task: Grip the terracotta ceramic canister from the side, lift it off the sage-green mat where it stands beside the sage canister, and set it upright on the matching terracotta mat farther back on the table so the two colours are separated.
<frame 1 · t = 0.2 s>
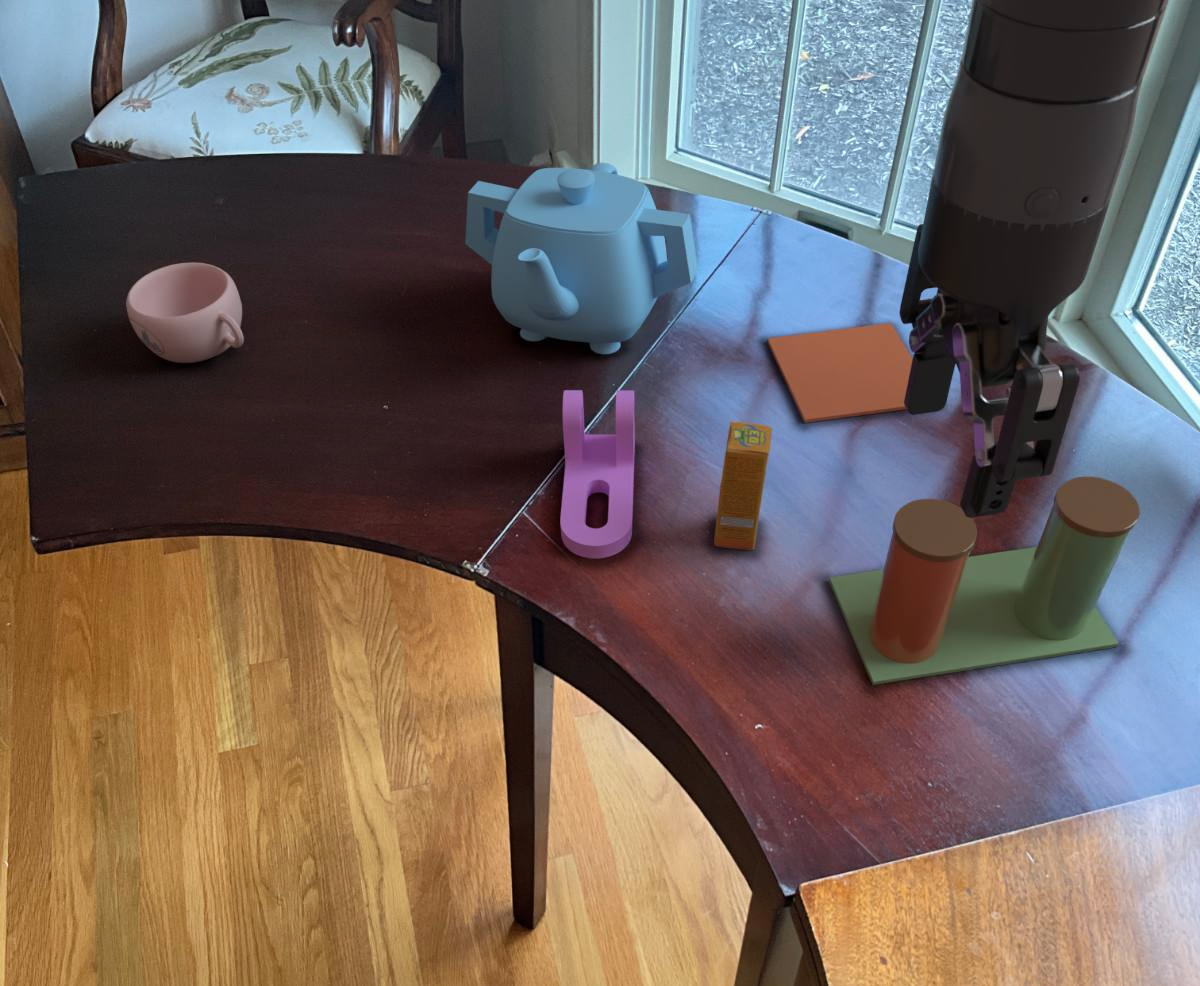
hand: (950, 457, 60), 22 cm above the table, tool pointing down, fingers open, 8 cm apart
mug: (206, 348, 105), on the table
supplement box: (737, 536, 87), on the table
terracotta mat: (849, 372, 100), on the table
teapot: (576, 328, 106), on the table
bracket: (598, 501, 90), on the table
terracotta canister: (904, 635, 79), resting on sage mat
sage mat: (968, 612, 81), on the table
sage canister: (1050, 613, 80), resting on sage mat
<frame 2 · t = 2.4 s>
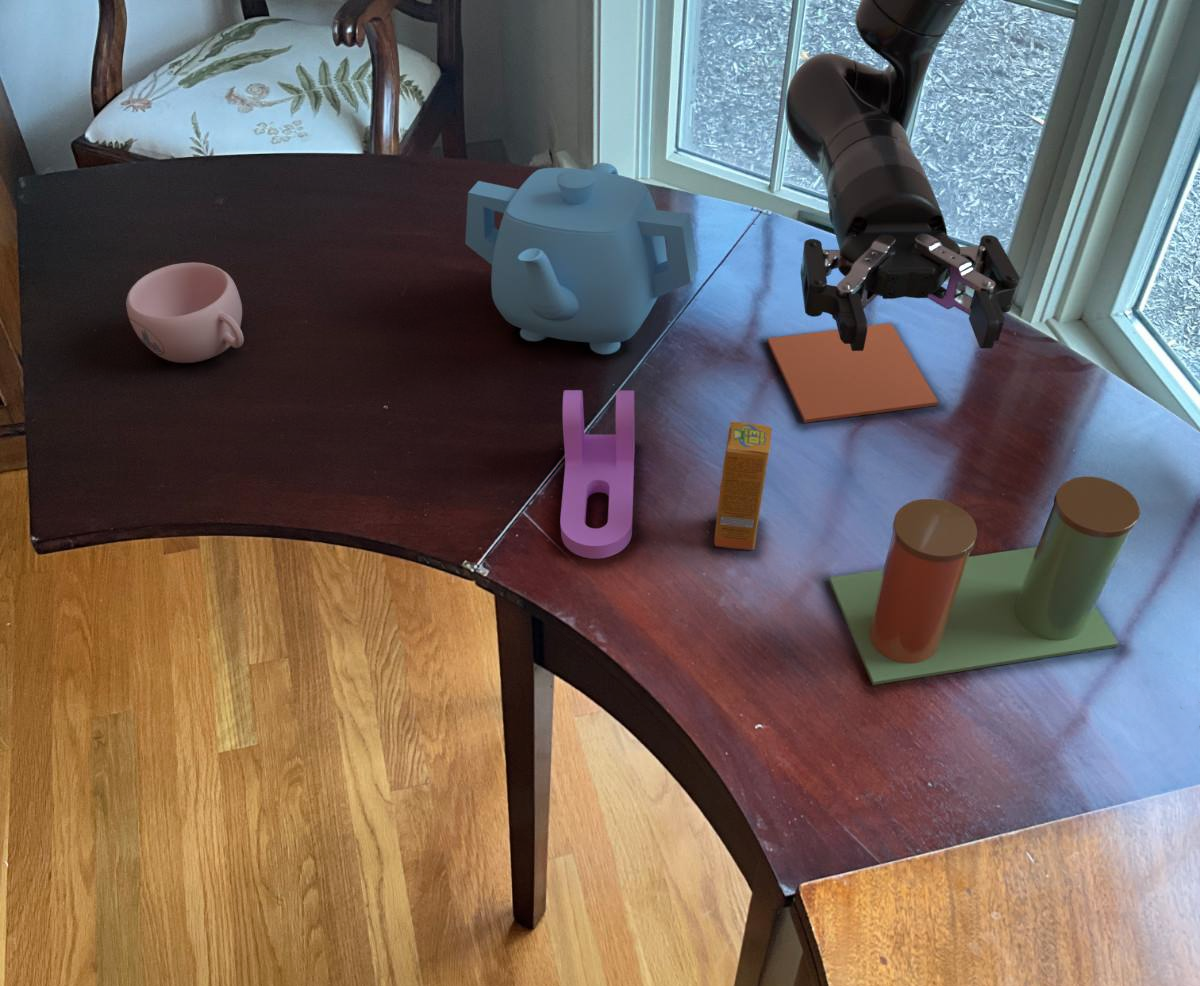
hand: (925, 339, 73), 18 cm above the table, tool horizontal, fingers open, 8 cm apart
nothing on the table moved.
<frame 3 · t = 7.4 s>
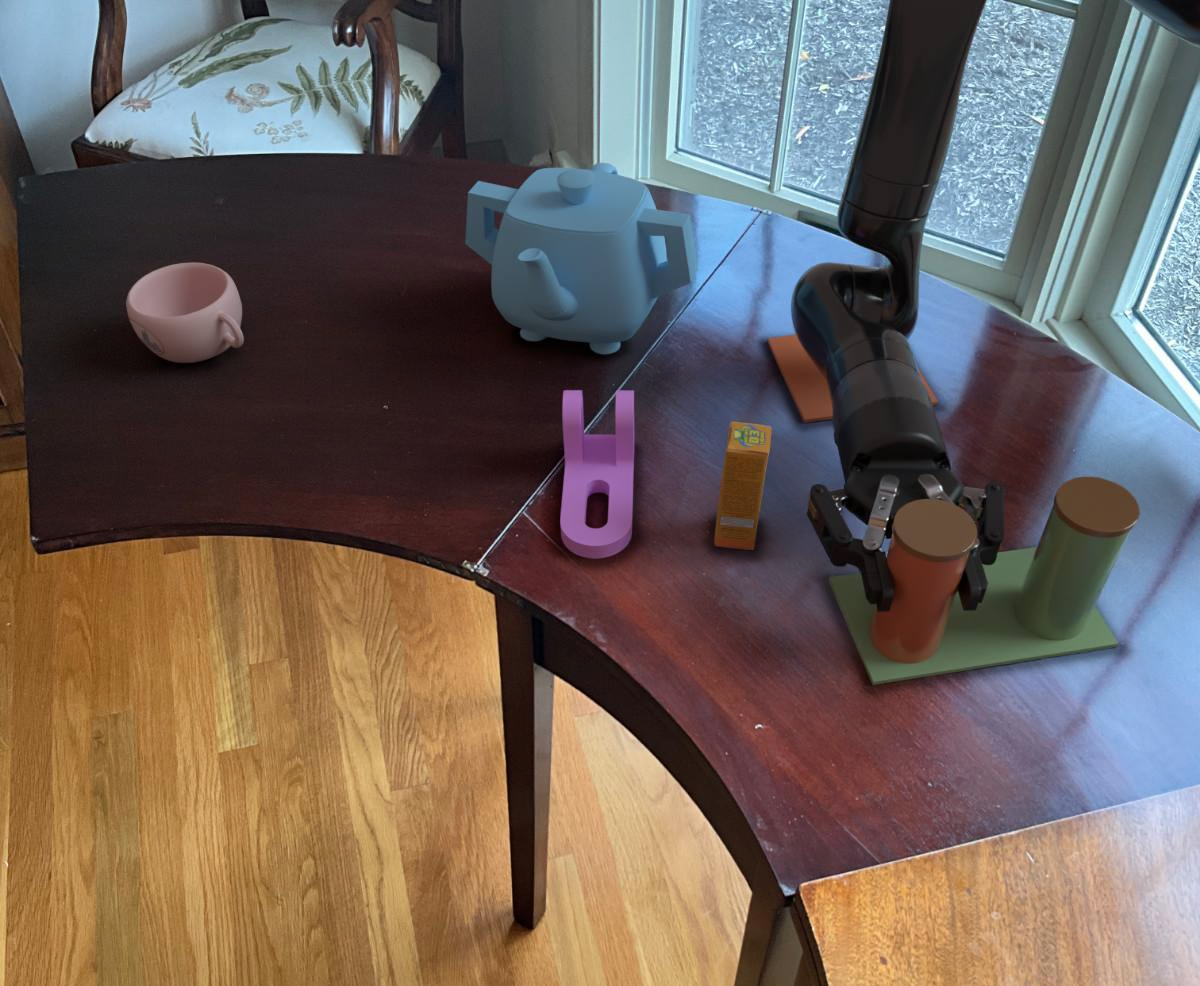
hand: (929, 602, 72), 7 cm above the table, tool horizontal, fingers closed on terracotta canister, 5 cm apart
terracotta canister: (904, 636, 79), resting on sage mat, touching gripper
everything else where it was.
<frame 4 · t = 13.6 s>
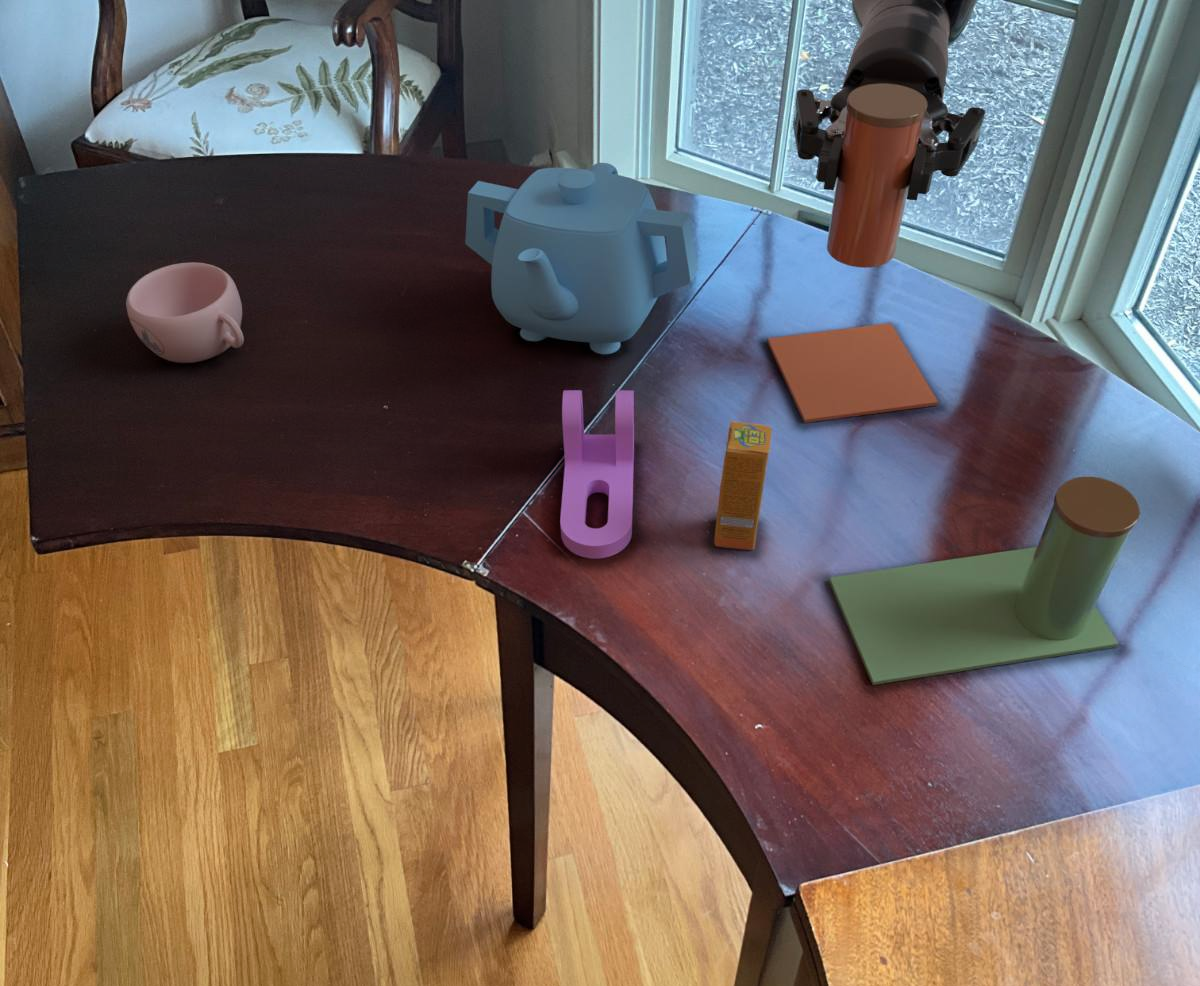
hand: (872, 181, 75), 24 cm above the table, tool horizontal, fingers closed on terracotta canister, 5 cm apart
terracotta canister: (860, 249, 82), point 17 cm above the table, touching gripper
everything else where it was.
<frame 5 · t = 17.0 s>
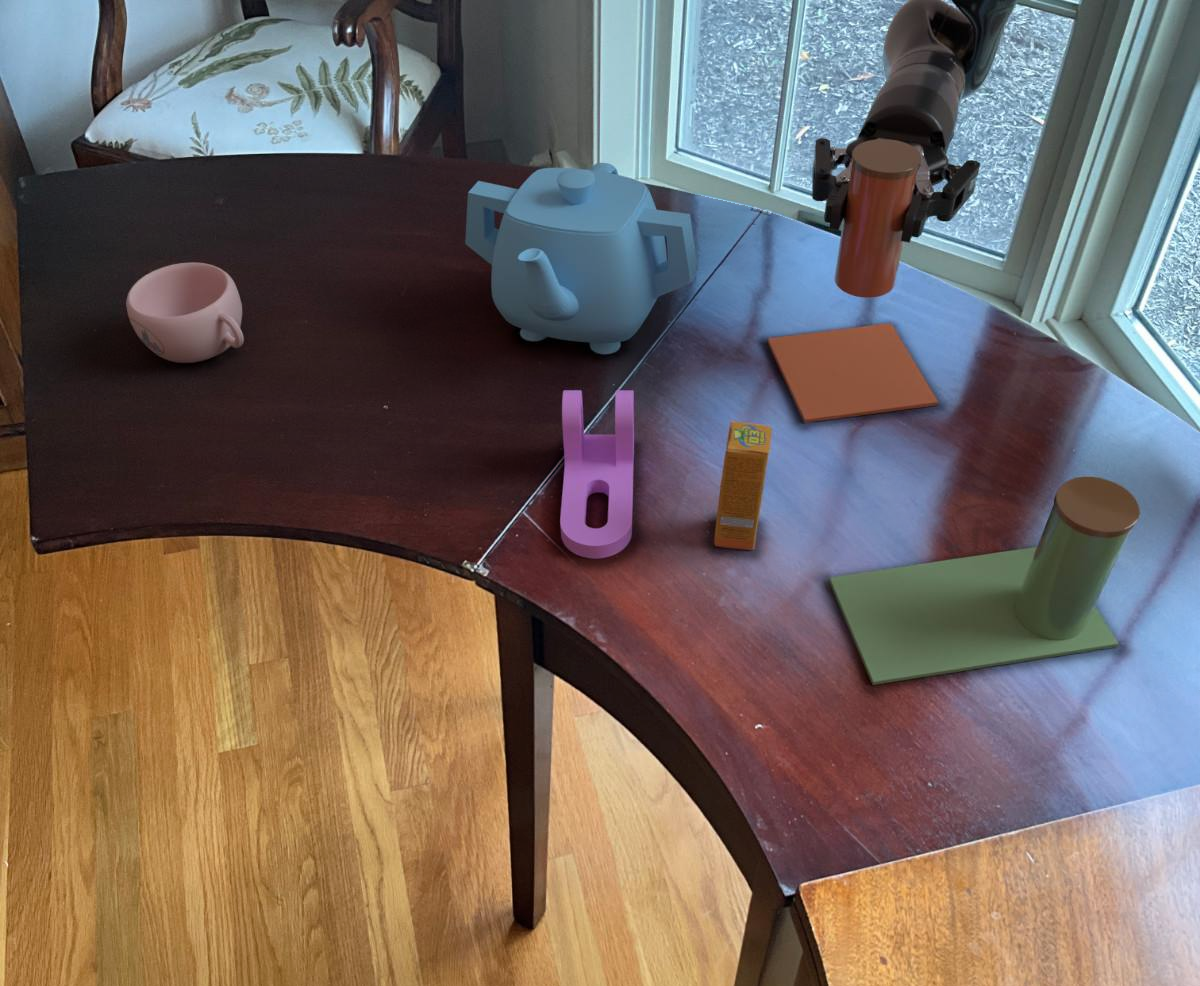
hand: (871, 225, 86), 16 cm above the table, tool horizontal, fingers closed on terracotta canister, 5 cm apart
terracotta canister: (864, 280, 93), point 9 cm above the table, touching gripper
everything else where it was.
when the fingers open (7 cm above the table, at t = 19.9 s): terracotta canister stays where it is, resting on terracotta mat.
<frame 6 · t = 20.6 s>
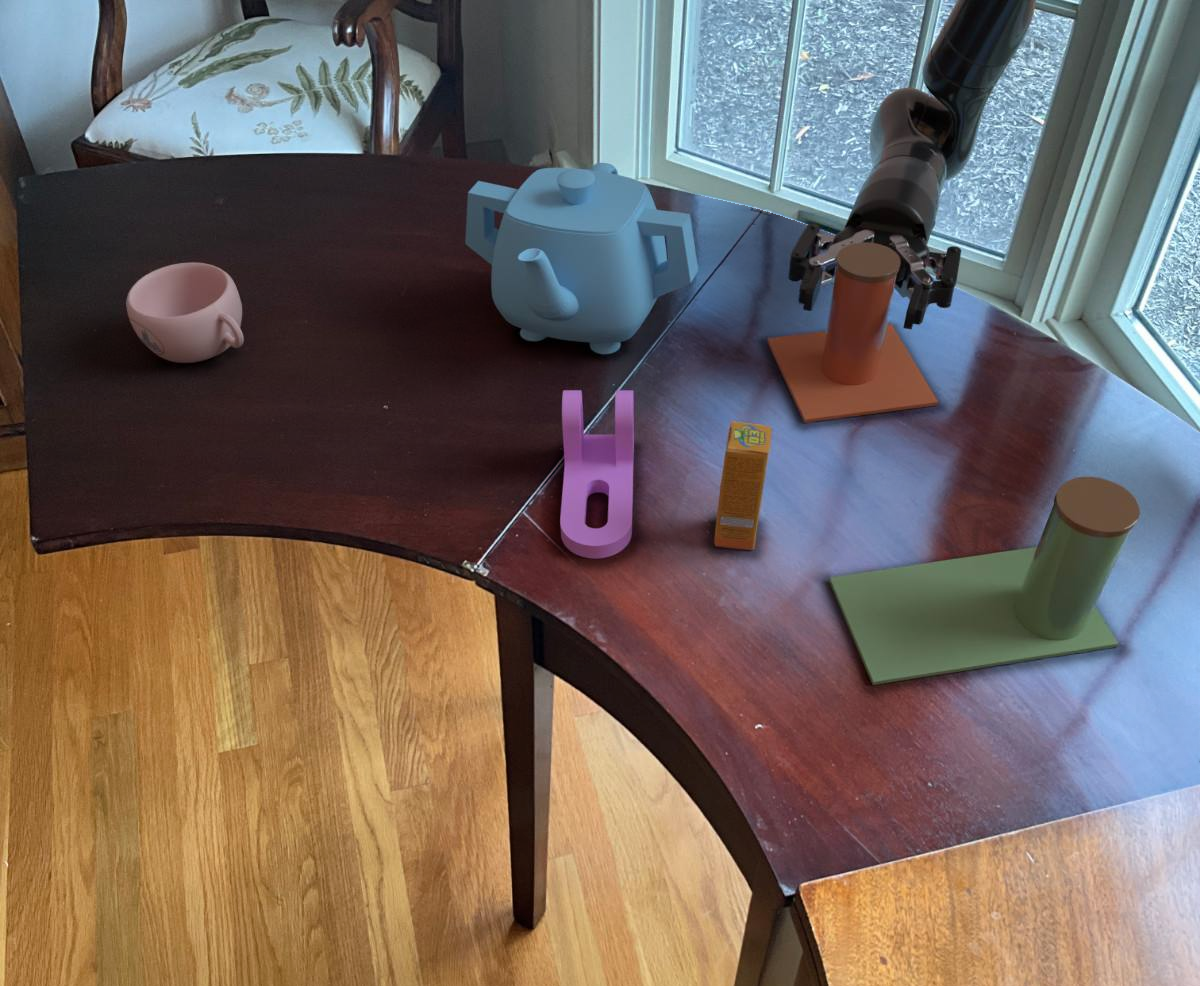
hand: (858, 310, 93), 8 cm above the table, tool horizontal, fingers open, 8 cm apart
terracotta canister: (849, 368, 100), resting on terracotta mat
everything else where it was.
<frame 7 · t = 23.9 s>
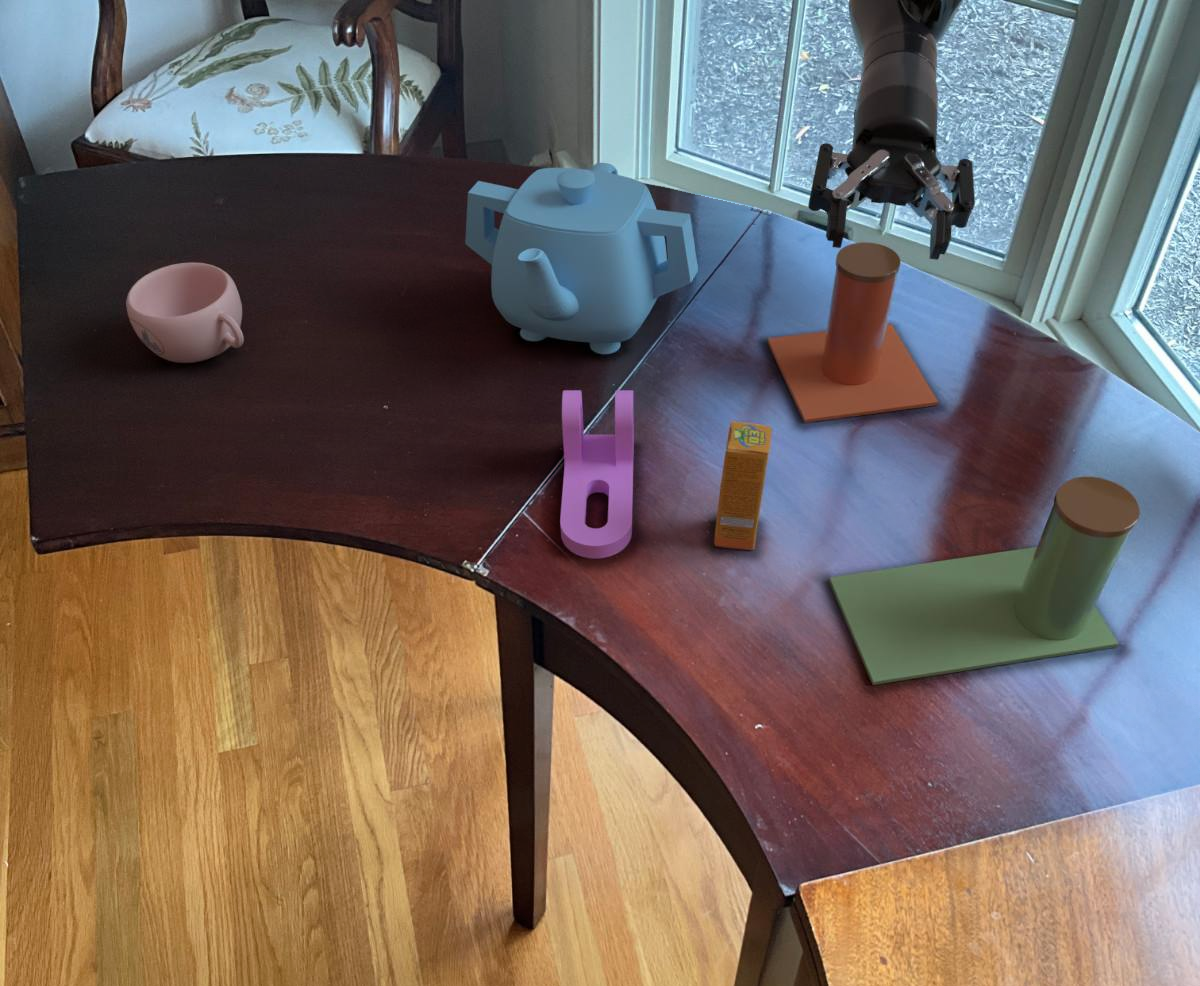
hand: (887, 246, 97), 9 cm above the table, tool horizontal, fingers open, 8 cm apart
nothing on the table moved.
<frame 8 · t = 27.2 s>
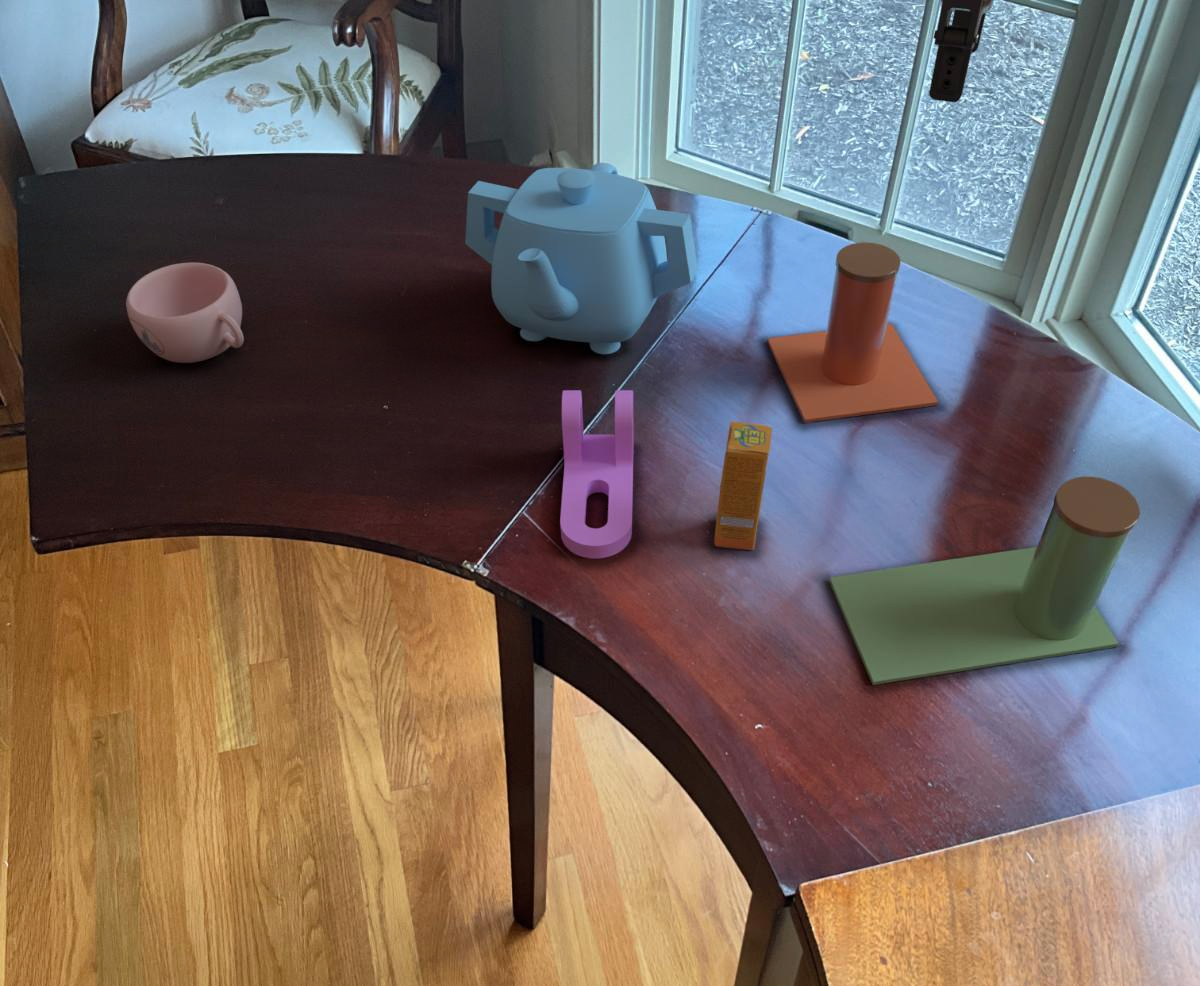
hand: (953, 73, 81), 26 cm above the table, tool pointing down, fingers open, 8 cm apart
nothing on the table moved.
at the end: terracotta canister inside the target area on the terracotta mat (0.1 cm from its centre), point 0.4 cm above the terracotta mat's base; terracotta canister tilted 0°; sage canister inside the target area on the sage mat (5.7 cm from its centre), point 0.4 cm above the sage mat's base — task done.
